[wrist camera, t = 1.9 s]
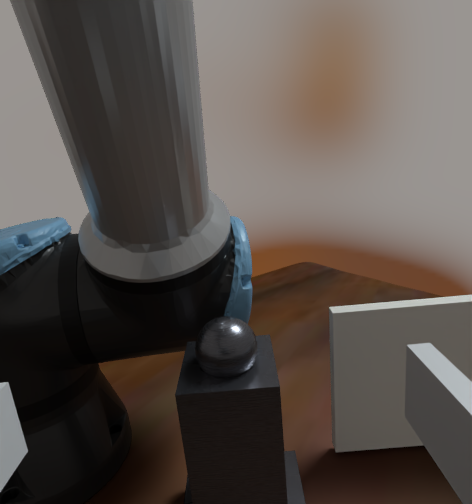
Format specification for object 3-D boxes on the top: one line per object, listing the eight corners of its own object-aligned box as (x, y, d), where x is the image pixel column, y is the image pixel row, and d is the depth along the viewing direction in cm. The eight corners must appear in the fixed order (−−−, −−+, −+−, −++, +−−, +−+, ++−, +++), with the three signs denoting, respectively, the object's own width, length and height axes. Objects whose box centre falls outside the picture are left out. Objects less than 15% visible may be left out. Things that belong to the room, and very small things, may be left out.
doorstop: (180, 609, 24) (134, 366, 19) (194, 486, 33) (164, 297, 28) (319, 599, 24) (309, 351, 19) (296, 478, 33) (285, 286, 28)
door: (499, 416, 37) (515, 282, 33) (520, 437, 34) (541, 295, 30) (328, 429, 37) (324, 299, 33) (335, 452, 34) (332, 313, 30)
